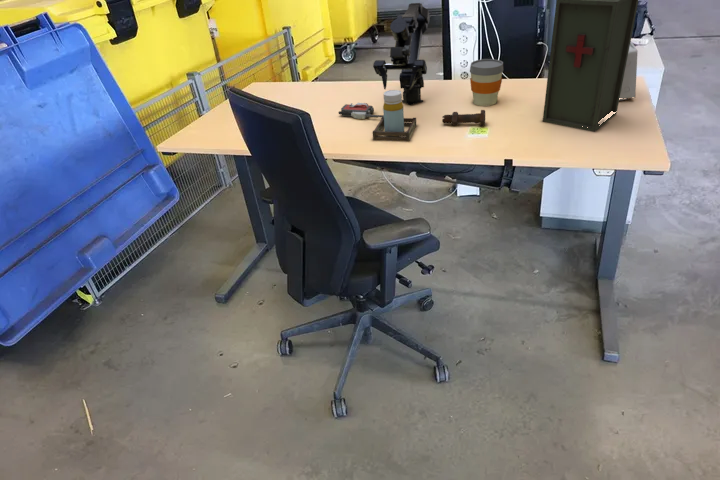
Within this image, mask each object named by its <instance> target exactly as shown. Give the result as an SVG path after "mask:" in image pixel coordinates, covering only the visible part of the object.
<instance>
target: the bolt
mask: <svg viewBox="0 0 720 480" xmlns="http://www.w3.org/2000/svg"><path fill="white" fill-rule="evenodd" d="M441 121H442V123H443V124H451V125H452V126H453V127H457V126H458V125H459V124H479V125H480V127H485V126H486V110H485V109H481V110H480V112H479V113H478V112H477V113H465V114H459V112H458V111H453V112H452V113H451V114H444V115H443V116H442V120H441Z"/></svg>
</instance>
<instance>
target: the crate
mask: <svg viewBox="0 0 720 480" xmlns="http://www.w3.org/2000/svg"><path fill="white" fill-rule="evenodd" d="M405 127H407V130H406V131H404V132H387V131H385V130H384V131H383V129H384V117H380V121H379V122H378V124H377V125H376V127H375V128H374V130H372V140H373V141H394V142H395V141H397V142H399V141H400V142H410V140H411V137H412V136H413V133H414V131H415V129H416V127H417V117H404V128H405Z"/></svg>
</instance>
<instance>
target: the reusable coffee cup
mask: <svg viewBox="0 0 720 480" xmlns="http://www.w3.org/2000/svg"><path fill="white" fill-rule="evenodd" d="M503 72H504V61H502V60H500V59H495V58H481V59H476V60H474V61H472V62H471V63H470V66H469V73H470V78H469V80H470V91H471V93H472V101H473V102H472V103H473V104H474V105H476V106H480V107H488V106H494V105H495V104H497V101H498V96H499V92H500V90H501V87H502V82H503V77H502V76H503Z"/></svg>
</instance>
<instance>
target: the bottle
mask: <svg viewBox="0 0 720 480" xmlns="http://www.w3.org/2000/svg"><path fill="white" fill-rule="evenodd" d="M402 100H403V93H402V91H401V90H400V89H399V90H398V89H388V90H387V91H384V92H383V105H382V113H383V114H382V115H384V127H383V129H384V131H387V132H405V127H404V123H405V122H404V118H405V114H404V104H403V102H402Z"/></svg>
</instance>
